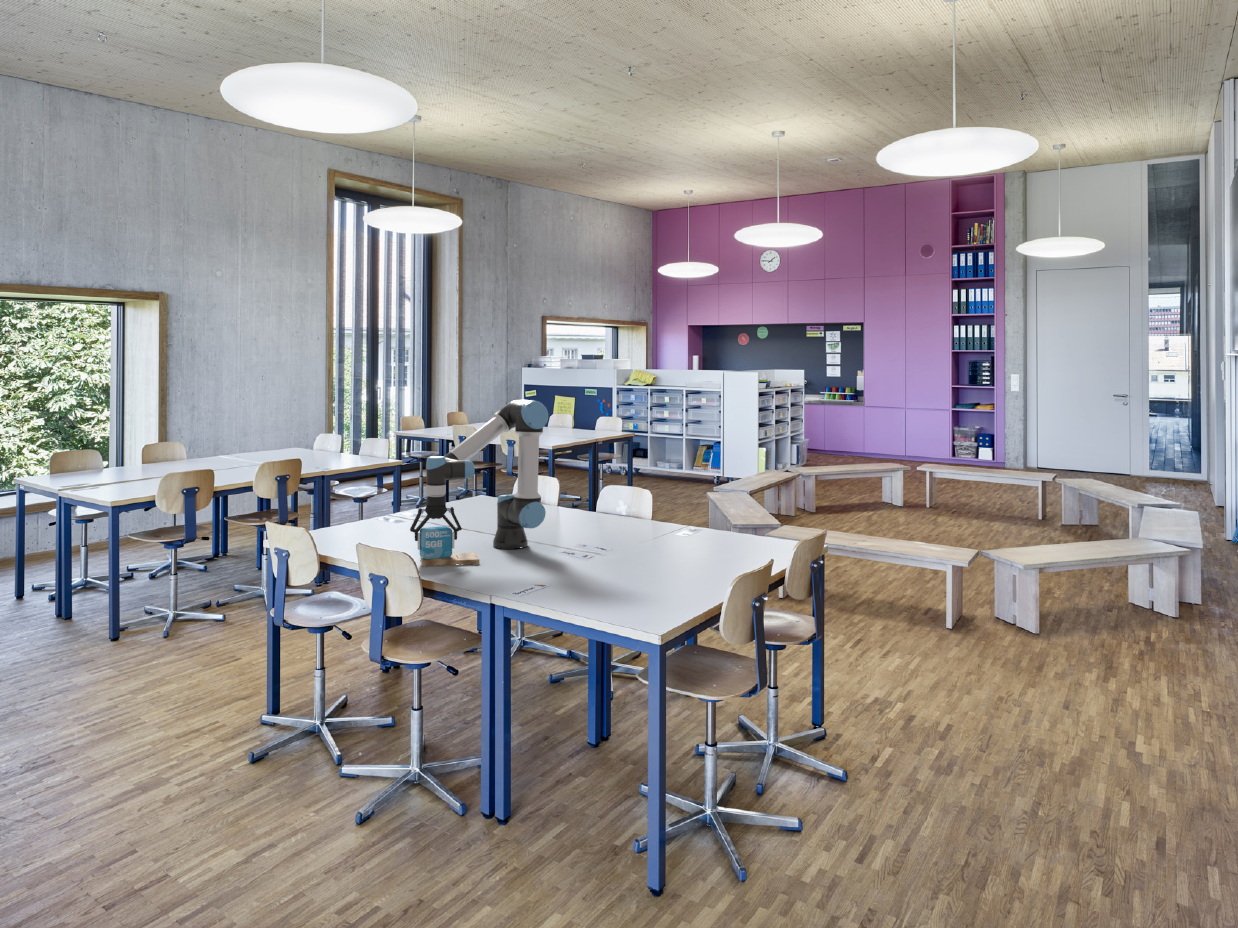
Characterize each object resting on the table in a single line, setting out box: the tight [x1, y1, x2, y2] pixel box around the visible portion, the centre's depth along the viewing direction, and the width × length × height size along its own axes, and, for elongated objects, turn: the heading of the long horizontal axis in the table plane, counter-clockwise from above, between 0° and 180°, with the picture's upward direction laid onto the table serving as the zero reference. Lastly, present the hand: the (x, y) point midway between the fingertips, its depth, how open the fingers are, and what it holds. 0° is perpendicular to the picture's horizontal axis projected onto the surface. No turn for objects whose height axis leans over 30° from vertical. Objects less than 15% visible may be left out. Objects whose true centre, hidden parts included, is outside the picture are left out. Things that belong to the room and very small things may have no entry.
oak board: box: [419, 552, 480, 567], centre depth 333 cm, size 22×13×2 cm, turn 107°
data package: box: [419, 525, 453, 560], centre depth 331 cm, size 12×4×12 cm, turn 123°
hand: (436, 548), depth 331 cm, fingers closed on data package, 13 cm apart
